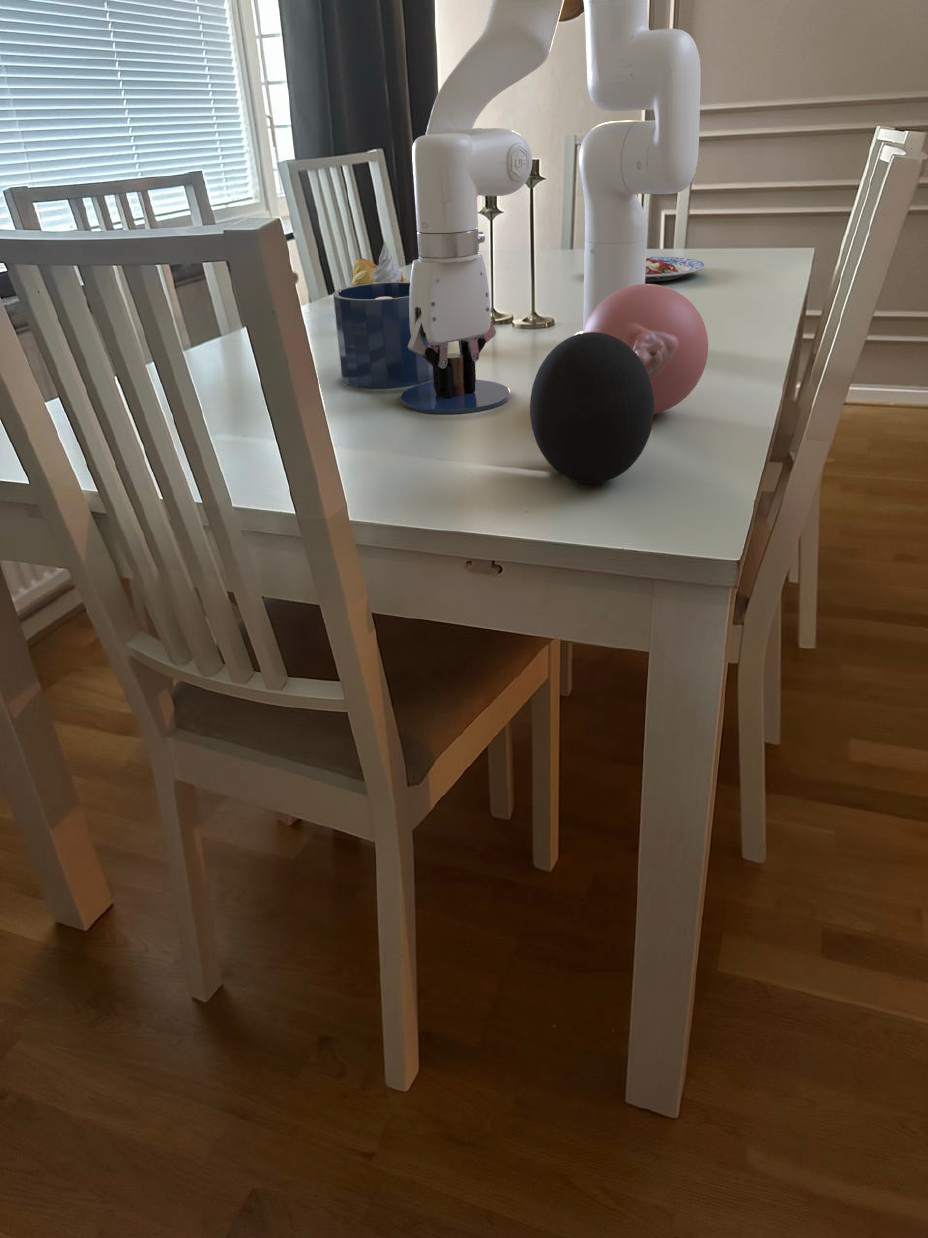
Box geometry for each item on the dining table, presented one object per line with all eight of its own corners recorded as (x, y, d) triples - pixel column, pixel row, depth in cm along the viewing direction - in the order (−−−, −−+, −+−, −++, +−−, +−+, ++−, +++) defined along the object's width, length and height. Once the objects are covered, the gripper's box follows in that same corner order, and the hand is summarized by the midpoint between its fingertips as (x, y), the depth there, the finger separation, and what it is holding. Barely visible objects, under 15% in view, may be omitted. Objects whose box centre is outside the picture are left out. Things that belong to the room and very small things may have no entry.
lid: (526, 392, 127) (526, 346, 124) (483, 423, 115) (481, 373, 112) (431, 384, 133) (429, 340, 130) (381, 413, 121) (377, 365, 118)
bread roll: (418, 296, 194) (415, 255, 190) (405, 305, 186) (402, 262, 182) (359, 296, 197) (356, 256, 193) (344, 305, 189) (340, 263, 185)
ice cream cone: (401, 333, 163) (394, 242, 156) (373, 333, 164) (365, 242, 157) (408, 327, 167) (402, 238, 160) (381, 327, 168) (373, 238, 161)
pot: (453, 370, 139) (449, 283, 133) (410, 395, 128) (403, 301, 122) (372, 364, 144) (365, 280, 138) (324, 388, 133) (313, 297, 127)
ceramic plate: (567, 273, 212) (567, 259, 210) (668, 262, 218) (669, 249, 216) (616, 290, 190) (617, 275, 188) (727, 278, 196) (729, 263, 195)
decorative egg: (635, 507, 90) (643, 351, 82) (514, 495, 94) (512, 344, 87) (660, 465, 100) (669, 322, 92) (550, 455, 104) (550, 317, 96)
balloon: (564, 442, 108) (565, 305, 100) (586, 394, 124) (588, 274, 117) (700, 446, 104) (712, 305, 97) (704, 397, 121) (714, 273, 113)
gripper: (483, 236, 121) (488, 376, 130) (375, 251, 113) (388, 399, 122) (519, 240, 116) (521, 387, 125) (408, 256, 108) (419, 411, 117)
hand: (455, 391), depth 123 cm, fingers open, 3 cm apart
